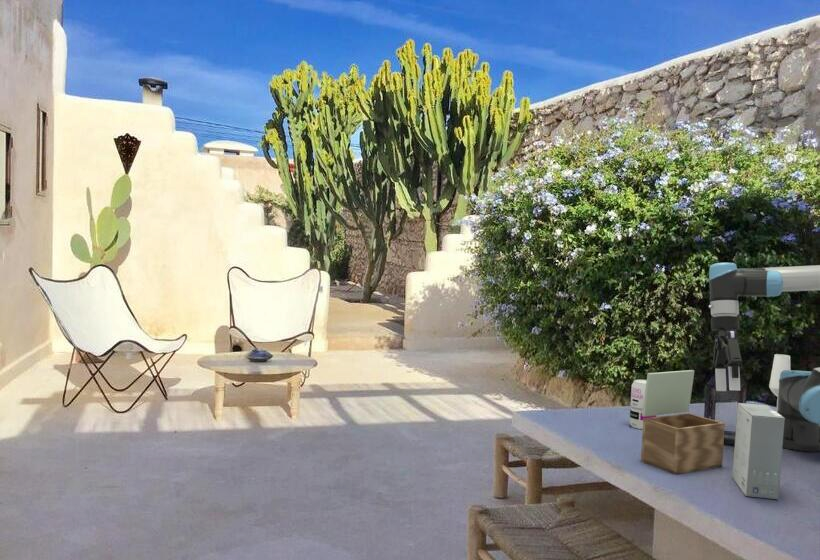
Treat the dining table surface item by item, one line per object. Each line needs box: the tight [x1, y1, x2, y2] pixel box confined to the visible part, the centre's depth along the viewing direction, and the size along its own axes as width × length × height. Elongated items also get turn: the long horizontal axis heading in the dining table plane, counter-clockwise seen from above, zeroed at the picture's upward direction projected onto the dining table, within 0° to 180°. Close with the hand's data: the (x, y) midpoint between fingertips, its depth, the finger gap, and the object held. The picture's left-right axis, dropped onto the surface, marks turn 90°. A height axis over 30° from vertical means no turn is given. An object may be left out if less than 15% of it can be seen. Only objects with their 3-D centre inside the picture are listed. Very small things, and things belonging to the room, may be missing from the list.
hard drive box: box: [732, 402, 785, 500], centre depth 186 cm, size 16×8×20 cm, turn 168°
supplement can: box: [629, 379, 657, 431], centre depth 244 cm, size 8×8×15 cm
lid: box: [642, 369, 695, 417], centre depth 208 cm, size 18×12×1 cm
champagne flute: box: [768, 353, 791, 412], centre depth 254 cm, size 7×7×24 cm
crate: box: [640, 412, 726, 476], centre depth 204 cm, size 18×12×12 cm
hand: (727, 390), depth 212 cm, fingers open, 13 cm apart
